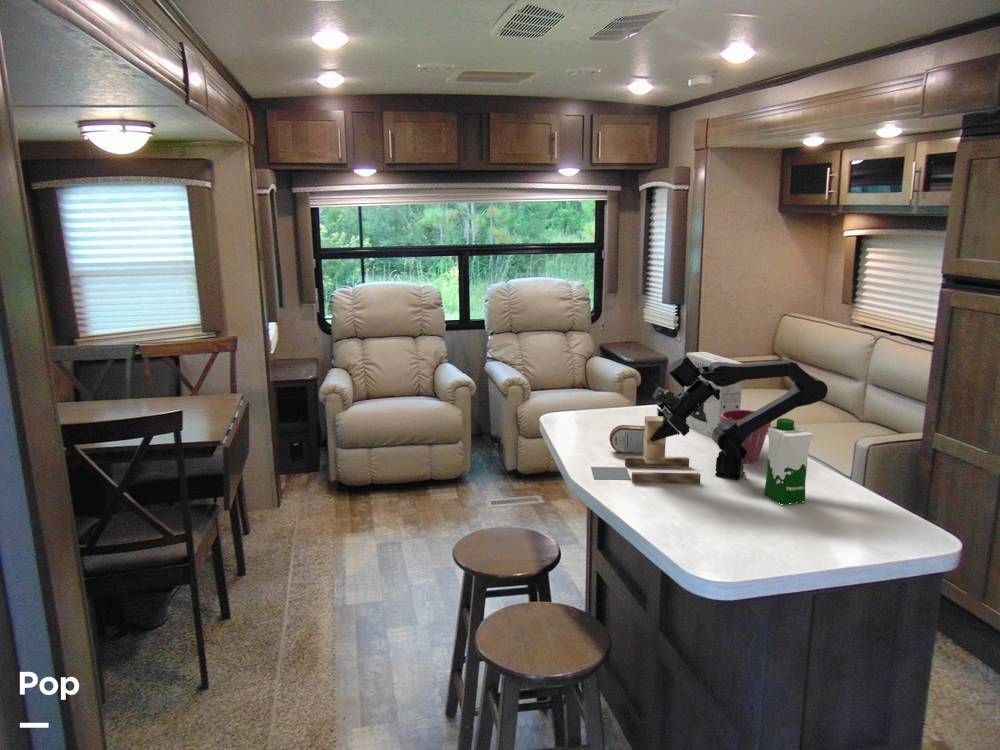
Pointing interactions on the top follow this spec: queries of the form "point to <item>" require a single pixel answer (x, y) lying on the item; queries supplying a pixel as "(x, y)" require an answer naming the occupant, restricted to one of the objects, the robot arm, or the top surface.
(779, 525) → the top surface
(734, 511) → the top surface
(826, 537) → the top surface
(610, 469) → the mat
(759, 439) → the plant pot
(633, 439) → the tin
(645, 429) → the oak block
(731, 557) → the top surface
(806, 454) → the milk carton
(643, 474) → the plinth rails
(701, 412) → the cereal box
